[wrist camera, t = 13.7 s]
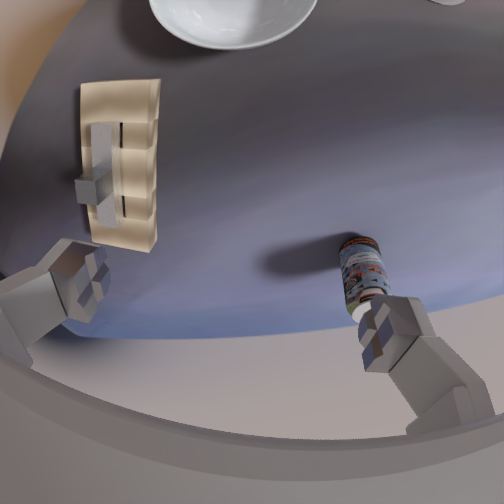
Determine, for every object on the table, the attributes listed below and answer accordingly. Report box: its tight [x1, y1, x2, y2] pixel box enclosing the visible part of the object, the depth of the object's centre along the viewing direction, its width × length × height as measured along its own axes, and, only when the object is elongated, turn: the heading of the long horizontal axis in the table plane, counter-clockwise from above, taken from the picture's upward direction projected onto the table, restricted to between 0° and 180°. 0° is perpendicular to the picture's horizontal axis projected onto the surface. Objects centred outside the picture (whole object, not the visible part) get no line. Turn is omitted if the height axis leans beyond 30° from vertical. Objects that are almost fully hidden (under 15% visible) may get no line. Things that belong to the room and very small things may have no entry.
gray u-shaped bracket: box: [75, 121, 125, 229], centre depth 32 cm, size 14×3×10 cm, turn 172°
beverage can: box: [339, 236, 392, 323], centre depth 37 cm, size 6×7×12 cm
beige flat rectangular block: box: [80, 79, 161, 253], centre depth 35 cm, size 24×10×4 cm, turn 171°
